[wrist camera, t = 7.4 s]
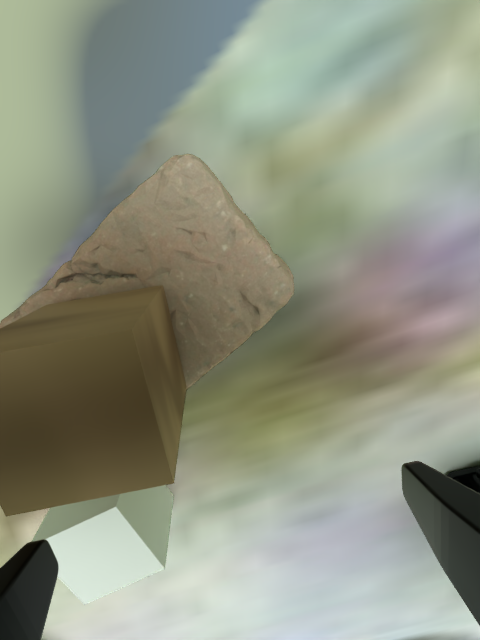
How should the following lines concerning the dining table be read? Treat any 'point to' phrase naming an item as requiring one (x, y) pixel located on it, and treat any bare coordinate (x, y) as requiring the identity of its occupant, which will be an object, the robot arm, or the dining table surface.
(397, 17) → the dining table surface
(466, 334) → the dining table surface
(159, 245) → the brick
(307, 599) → the dining table surface
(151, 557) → the grey block
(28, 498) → the walnut block
